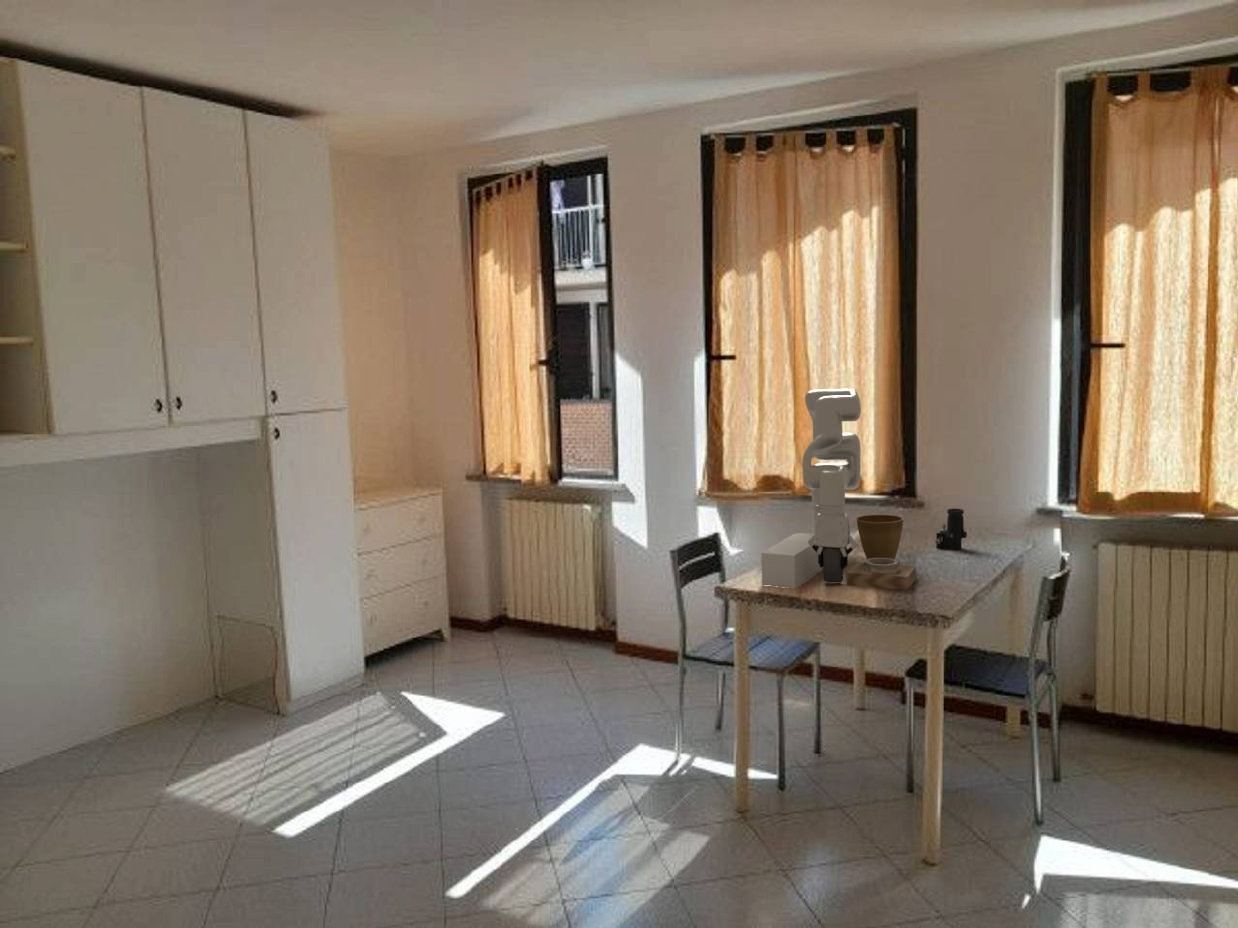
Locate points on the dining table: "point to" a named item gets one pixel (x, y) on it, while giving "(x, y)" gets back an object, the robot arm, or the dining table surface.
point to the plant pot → (880, 535)
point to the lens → (832, 565)
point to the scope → (952, 531)
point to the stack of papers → (790, 562)
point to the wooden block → (881, 574)
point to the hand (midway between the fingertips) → (832, 566)
